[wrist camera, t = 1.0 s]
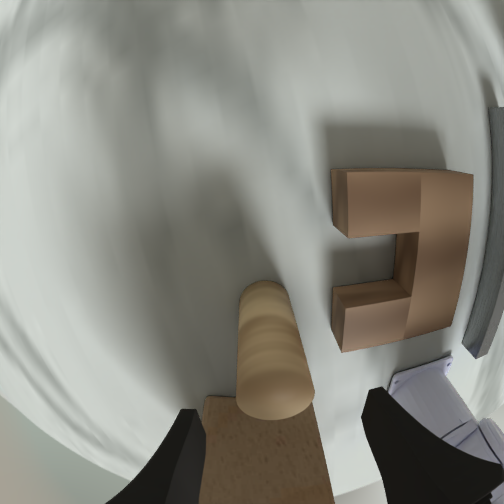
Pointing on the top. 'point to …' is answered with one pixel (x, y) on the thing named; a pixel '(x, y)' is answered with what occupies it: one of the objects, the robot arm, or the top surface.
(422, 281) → the block
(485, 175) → the top surface
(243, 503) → the wooden block
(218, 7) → the top surface
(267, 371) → the dowel
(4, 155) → the top surface
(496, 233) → the rail
